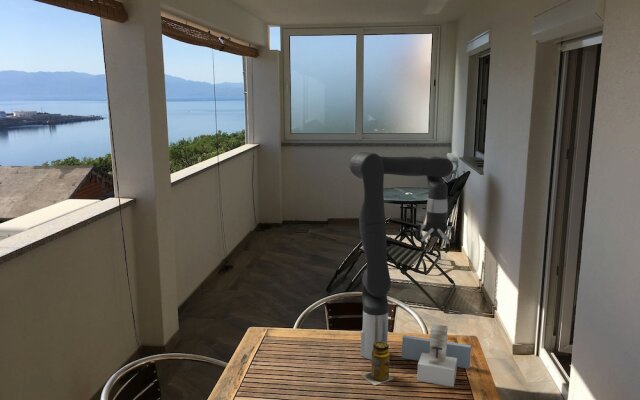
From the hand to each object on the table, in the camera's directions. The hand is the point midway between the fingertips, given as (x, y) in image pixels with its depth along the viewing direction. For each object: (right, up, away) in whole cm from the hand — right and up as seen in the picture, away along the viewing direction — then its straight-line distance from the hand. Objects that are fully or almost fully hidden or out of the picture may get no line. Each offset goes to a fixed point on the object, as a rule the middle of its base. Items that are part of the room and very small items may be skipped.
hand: (435, 251), depth 207 cm
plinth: (-4, -41, -22) cm, 47 cm away
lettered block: (-4, -35, -23) cm, 42 cm away
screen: (-2, -39, -12) cm, 40 cm away
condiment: (-24, -41, -23) cm, 53 cm away
